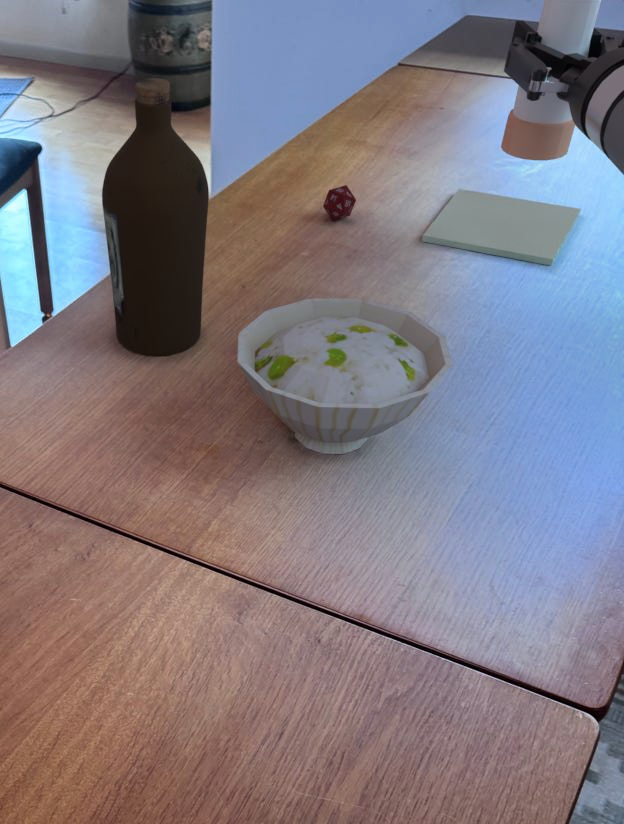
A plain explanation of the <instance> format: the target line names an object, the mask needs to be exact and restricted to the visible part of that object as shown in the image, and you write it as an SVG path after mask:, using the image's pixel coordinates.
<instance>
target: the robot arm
mask: <svg viewBox="0 0 624 824" xmlns="http://www.w3.org/2000/svg"><path fill="white" fill-rule="evenodd" d="M514 25H515V26H514V28H513V33H512V37H511V42H510V44H509V46H508V50H507V54H506V59H505V63H504V68H503V72H504V73H505V74H506V75H507V76H508V77H509V78H510V79H512V81H513V82H514V83H516V84H517V85H518V86H520V87H521V88H522V89H523V90H524V91H526V92H527V99H528V100H530V101H537V100H539V98H540V96H545V93H546V92H556V95H557V97H558V98H559V99H561V100H564V101H566V102H568V103H569V107H570V112H571V116H572V119H573V121H574V123H575V127H577V129H578V130H579V131H580V132H581V133H582V134H583V135H584V137H586V138H587V139H588V140H589V141H591V142H592V143H593V144H594V145H595V146H596V148H597V149H599V150H600V151H601V152H602V153H603V154H604V155H605V157H606V158H608V160H610V162H611V163H612V164H613V165H614V166H615V167H616V168H617V170H618V171H619V172H620V173H621V174H622V175H623V176H624V37H623V38H622V41H618V40H617V38H616V36H613V35H604V34H603V33H601V32H600V31H598V30H597V28H596V29H595V28H594V29H593V33H592V37H591V40H590V48H589V54H588V58H587V57H585V56H583V55H580V54H578V53H574V54H567V55H566V54H564V53H561V52H559V51H557V50H555V49H553V48H550V47H548V46H546V45H544V44H542V43H541V41H542V37H541V36H540V35H539V34H538V32H537V31H536V30H534V29H533V27H531V26H530V25H529V24H528V23H527V22H526V21H525V20H515V24H514Z"/></svg>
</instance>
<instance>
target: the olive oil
mask: <svg viewBox="0 0 624 824" xmlns="http://www.w3.org/2000/svg"><path fill="white" fill-rule="evenodd" d="M170 92H171V83H170V81H169V80H167V79H164V78H159V77H149V78H143V79H141V80H139V81H137V82H136V83H135V94H136V98H135V99H134V110H135V111H134V113H135V128H134V130H133V132H132V133H131V134H130V136H129V137H128V139H126V141H125V142H124V143H123V144H122V145H121V147H120V148H119V149H118V150H117V152H116V153H115V154H114V156H113V157H112V159H111V160H110V162H109V163H108V165H107V167H106V170H105V174H104V177H103V182H102V190H101V199H102V200H101V203H102V204H101V205H102V211H103V220H104V221H103V222H104V229H105V237H106V245H107V246H106V247H107V255H108V262H109V264H108V265H109V272H110V273H109V274H110V281H111V290H112V301H113V309H114V311H113V312H114V320H115V321H114V322H115V332H116V338H117V341H118V343H119V344H120V345H121V346H122V347H124V348H125V349H126V350H128V351H130V352H133V353H135V354H138V355H143V356H151V357H164V356H172V355H176V354H179V353H182V352H185V351H187V350H188V349H190V348H192V347H193V346H194V345H195V344H196V343H197V342H198V341H199V339H200V336H201V331H202V312H203V311H202V308H203V290H204V289H203V285H204V272H205V270H204V269H205V258H206V257H205V256H206V240H207V225H208V213H209V198H210V197H209V196H210V195H209V194H210V192H209V183H208V179H207V174H206V172H205V168H204V166H203V163H202V161H201V160H200V158H199V156H197V154H196V153H195V152H194V151H193V149H192V148H191V147H190V146H189V145H188V144H187V143H186V142H185V140H183V138H182V137H181V136H180V135H179V134H178V133H177V132H176V130H175V129H174V127H173V126H172V98H171V96H170Z"/></svg>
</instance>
